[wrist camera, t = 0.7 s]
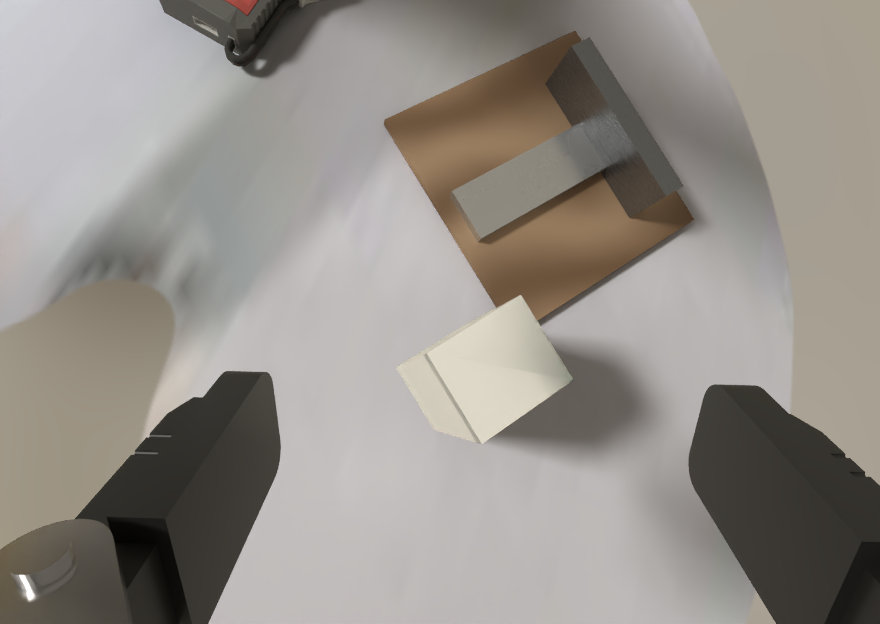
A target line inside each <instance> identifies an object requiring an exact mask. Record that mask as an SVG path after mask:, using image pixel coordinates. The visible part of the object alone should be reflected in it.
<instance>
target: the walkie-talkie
mask: <svg viewBox="0 0 880 624" xmlns="http://www.w3.org/2000/svg"><path fill="white" fill-rule="evenodd" d="M317 1H321V0H160V3H161V5H162V8H163V10H164V12H165V13H166V14H168V15H170V16H172V17H174V18H175V19H177V20H179V21H181V22H182V23H184V24H186V25H188V26H189V27H191V28H193V29H195V30H196V31H198V32H200V33H202V34H204V35H205V36H207V37H209V38H211V39H212V40H214V41H216V42H218V43H219V44H221V45H223V46H225V53H226V56H227V59H228V60H229V61H230V62H231V63H233V64H234V65H236V66H246V65H247V64H248V63H250V62H251V61H253V60H254V58H255V57H256V55H257V54H258V52H259V51H260V49H261V48H262V47H263V45H264V44H265V42H266V41H267V39H268V38H269V36H270V35H271V33H272V32H273V30H274V29H275V28H276V26H277V25H278V23H279V22H280V20H281V19H282V17H283V16H284V15H285V14H286V13H287V12H288V11H290V10H292V9H294V8H295V7H296V6H300V7H302V8H303V6H304V5H307V4H310V3H314V2H317ZM233 51H234V52H235V53H237V54H239V56H238V55H235V54H234V53H233Z"/></svg>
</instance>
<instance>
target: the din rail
mask: <svg viewBox="0 0 880 624" xmlns="http://www.w3.org/2000/svg"><path fill="white" fill-rule="evenodd" d="M605 168H606V166H605V164H604V162H603V161H602V159H601V158H600V156H599V154H598V153H597V151H596V150H595V148H594V146H593V145H592V143H591V142H590V140H589V138H588V137H587V135H586V134H585V132H584V130H583V129H582V127H581V126H580V124H577V125H575V126H573V127H572V128H570V129H568V130H566V131H564V132H562V133H560V134H558V135H556V136H555V137H553V138H551V139H549V140H547V141H545V142H543V143H541V144H539V145H538V146H536V147H534V148H532V149H530V150H528V151H526V152H524V153H522V154H521V155H519V156H517V157H515V158H513V159H511V160H509V161H507V162H506V163H504V164H502V165H500V166H498V167H496V168H494V169H492V170H490V171H489V172H487V173H485V174H483V175H481V176H479V177H477V178H475V179H473V180H472V181H470V182H468V183H466V184H464V185H462V186H460V187H458V188H456V189H455V190H453V191H452V192H451V193H450V195H449V197H450V198H451V200H452V201H453V203H454V205H455V206H456V208H457V210H458V211H459V213H460V214H461V216H462V218H463V219H464V221H465V223H466V224H467V226H468V227H469V229H470V231H471V232H472V234H473V236H474V237H475V239H476V240H477V242H479V241H481V240H483V239H484V238H486V237H488V236H490V235H491V234H493V233H495V232H497V231H498V230H500V229H502V228H504V227H505V226H507V225H509V224H511V223H512V222H514V221H516V220H518V219H519V218H521V217H523V216H525V215H526V214H528V213H530V212H532V211H533V210H535V209H537V208H539V207H540V206H542V205H544V204H546V203H547V202H549V201H551V200H553V199H554V198H556V197H558V196H560V195H561V194H563V193H565V192H567V191H568V190H570V189H572V188H574V187H575V186H577V185H579V184H581V183H582V182H584V181H586V180H588V179H589V178H591V177H593V176H595V175H596V174H598V173H600V172H601V171H602V170H604V169H605Z"/></svg>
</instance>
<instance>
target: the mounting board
mask: <svg viewBox="0 0 880 624" xmlns="http://www.w3.org/2000/svg"><path fill="white" fill-rule="evenodd" d="M579 42H581V39H580V38H579V36H578V34H577V33H576V31H574V32H572V33H569V34H567V35H565V36H563V37H561V38H559V39H557V40H554V41H552V42H550V43H548V44H546V45H544V46H541V47H539V48H537V49H535V50H533V51H531V52H529V53H526V54H524V55H522V56H520V57H518V58H516V59H514V60H511V61H509V62H507V63H505V64H503V65H501V66H499V67H496V68H494V69H492V70H490V71H488V72H486V73H484V74H481V75H479V76H477V77H475V78H473V79H471V80H469V81H466V82H464V83H462V84H460V85H458V86H456V87H454V88H451V89H449V90H447V91H445V92H443V93H441V94H439V95H436V96H434V97H432V98H430V99H428V100H426V101H424V102H421V103H419V104H417V105H415V106H413V107H411V108H409V109H406V110H404V111H402V112H400V113H398V114H396V115H394V116H391V117H389V118H387V119H385V121H384V125H385V127H386V129H387V130H388V132H389V134H390V135H391V137H392V138H393V140H394V142H395V143H396V145H397V147H398V148H399V150H400V151H401V153H402V155H403V156H404V158H405V160H406V161H407V163H408V164H409V166H410V168H411V169H412V171H413V173H414V174H415V176H416V177H417V179H418V181H419V182H420V184H421V186H422V187H423V189H424V190H425V192H426V194H427V195H428V197H429V199H430V200H431V202H432V203H433V205H434V207H435V208H436V210H437V212H438V213H439V215H440V216H441V218H442V220H443V221H444V223H445V225H446V226H447V228H448V229H449V231H450V233H451V234H452V236H453V238H454V239H455V241H456V242H457V244H458V246H459V247H460V249H461V251H462V252H463V254H464V255H465V257H466V259H467V260H468V262H469V264H470V265H471V267H472V268H473V270H474V272H475V273H476V275H477V277H478V278H479V280H480V282H481V283H482V285H483V286H484V288H485V290H486V291H487V293H488V295H489V296H490V298H491V299H492V301H493V303H494V304H495V306H496V308H497V307H499V306H501V305H503V304H505V303H506V302H508V301H510V300H512V299H514V298H516V297H518V296H519V295H521V296H522V297H523V299H524V301H525V302H526V304H527V305H528V307H529V309H530V310H531V312H532V313H533V315H534V317H535V318H536V320H537V321H538V320H539V319H541V318H543V317H544V316H546V315H547V314H549V313H550V312H552V311H553V310H555V309H556V308H558V307H560V306H561V305H563V304H564V303H566V302H567V301H569V300H570V299H572V298H574V297H575V296H577V295H578V294H580V293H581V292H583V291H584V290H586V289H587V288H589V287H591V286H592V285H594V284H595V283H597V282H598V281H600V280H601V279H603V278H605V277H606V276H608V275H609V274H611V273H612V272H614V271H615V270H617V269H618V268H620V267H622V266H623V265H625V264H626V263H628V262H629V261H631V260H632V259H634V258H636V257H637V256H639V255H640V254H642V253H643V252H645V251H646V250H648V249H649V248H651V247H653V246H654V245H656V244H657V243H659V242H660V241H662V240H663V239H665V238H667V237H668V236H670V235H671V234H673V233H674V232H676V231H677V230H679V229H680V228H682V227H684V226H685V225H687V224H688V223H690V222H691V221H693V220H694V218H693V217H692V215H691V214H690V212H689V210H688V209H687V207H686V206H685V204H684V202H683V201H682V199H681V198H680V196H679V194H678V193H677V191H674V192H672V193H671V194H669V195H667V196H666V197H664V198H662V199H661V200H659V201H657V202H656V203H654V204H652V205H651V206H649V207H647V208H646V209H644V210H642V211H641V212H639V213H637V214H636V215H634V216H632V217H630V218H629V217H628V215H627V214H626V212H625V210H624V209H623V207H622V206H621V204H620V202H619V201H618V199H617V198H616V196H615V195H614V193H613V191H612V190H611V188H610V187H609V185H608V183H607V182H606V180H605V179H604V177H603V175H602V174H601V172H600V173H598V174H596V175H595V176H593V177H591V178H589V179H588V180H586V181H584V182H582V183H581V184H579V185H577V186H575V187H574V188H572V189H570V190H568V191H567V192H565V193H563V194H561V195H560V196H558V197H556V198H554V199H553V200H551V201H549V202H547V203H546V204H544V205H542V206H540V207H539V208H537V209H535V210H533V211H532V212H530V213H528V214H526V215H525V216H523V217H521V218H519V219H518V220H516V221H514V222H512V223H511V224H509V225H507V226H505V227H504V228H502V229H500V230H498V231H497V232H495V233H493V234H491V235H490V236H488V237H486V238H484V239H483V240H481V241H479V242H477V240H476V239H475V237H474V236H473V234H472V232H471V231H470V229H469V227H468V226H467V224H466V223H465V221H464V219H463V218H462V216H461V214H460V213H459V211H458V210H457V208H456V206H455V205H454V203H453V201H452V200H451V198H450V197H449V195H450V193H451V192H452V191H453V190H455V189H456V188H458V187H460V186H462V185H464V184H466V183H468V182H470V181H472V180H473V179H475V178H477V177H479V176H481V175H483V174H485V173H487V172H489V171H490V170H492V169H494V168H496V167H498V166H500V165H502V164H504V163H506V162H507V161H509V160H511V159H513V158H515V157H517V156H519V155H521V154H522V153H524V152H526V151H528V150H530V149H532V148H534V147H536V146H538V145H539V144H541V143H543V142H545V141H547V140H549V139H551V138H553V137H555V136H556V135H558V134H560V133H562V132H564V131H566V130H568V129H570V128H572V126H571V124H570V123H569V121H568V120H567V118H566V116H565V115H564V113H563V112H562V110H561V108H560V107H559V105H558V104H557V102H556V100H555V99H554V97H553V96H552V94H551V92H550V91H549V89H548V88H547V86H546V84H545V83H546V82H547V80H548V79H549V78H550V76H551V75H552V73H553V72H554V70H555V69H556V67H557V66H558V65H559V63H560V62H561V60H562V59H563V57H564V56H565V55H566V53H567V52H568V50H569V49H570V47H571V46H573V45H575V44H577V43H579Z"/></svg>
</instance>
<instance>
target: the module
mask: <svg viewBox="0 0 880 624" xmlns="http://www.w3.org/2000/svg"><path fill="white" fill-rule="evenodd" d="M396 368H397V370H398V371H399V373H400V375H401V376H402V378H403V380H404V381H405V383H406V385H407V386H408V388H409V390H410V391H411V393H412V395H413V396H414V398H415V399H416V401H417V403H418V404H419V406H420V408H421V409H422V411H423V413H424V414H425V416H426V418H427V419H428V421H429V423H430V424H431V426H432V427H433V429H434V430H436V431H439V432H442V433H446V434H449V435H453V436H456V437H460V438H463V439H466V440H470V441H473V442H477V443H480V444H483V443H484V442H486V441H487V440H489V439H490V438H491V437H493V436H494V435H496V434H497V433H499V432H500V431H501V430H503V429H504V428H506V427H507V426H509V425H510V424H511V423H513V422H514V421H516V420H517V419H519V418H520V417H521V416H523V415H524V414H526V413H527V412H529V411H530V410H531V409H533V408H534V407H536V406H537V405H538V404H540V403H541V402H543V401H544V400H546V399H547V398H548V397H550V396H551V395H553V394H554V393H556V392H557V391H558V390H560V389H561V388H563V387H564V386H566V385H567V384H568V383H570V382H571V381H573V378H572V377H571V375H570V373H569V372H568V370H567V368H566V367H565V365H564V364H563V362H562V360H561V359H560V357H559V355H558V354H557V352H556V351H555V349H554V347H553V346H552V344H551V343H550V341H549V339H548V338H547V336H546V334H545V333H544V331H543V330H542V328H541V326H540V325H539V323H538V322H537V320H536V318H535V317H534V315H533V313H532V312H531V310H530V309H529V307H528V305H527V304H526V302H525V301H524V299H523V297H522V296H521V295H519V296H518V297H516V298H514V299H512V300H510V301H508V302H506V303H505V304H503V305H501V306H499V307H497V308H495V309H493V310H492V311H490V312H488V313H486V314H484V315H482V316H480V317H479V318H477V319H475V320H473V321H471V322H469V323H467V324H466V325H464V326H462V327H460V328H459V329H457V330H456V331H454V332H452V333H451V334H449V335H448V336H446V337H444V338H443V339H441V340H439V341H438V342H436V343H435V344H433V345H431V346H430V347H428V348H427V349H425V350H423V351H422V352H420V353H418V354H417V355H415V356H414V357H412V358H410V359H409V360H407V361H406V362H404V363H402V364H401V365H399V366H397V367H396Z"/></svg>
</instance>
